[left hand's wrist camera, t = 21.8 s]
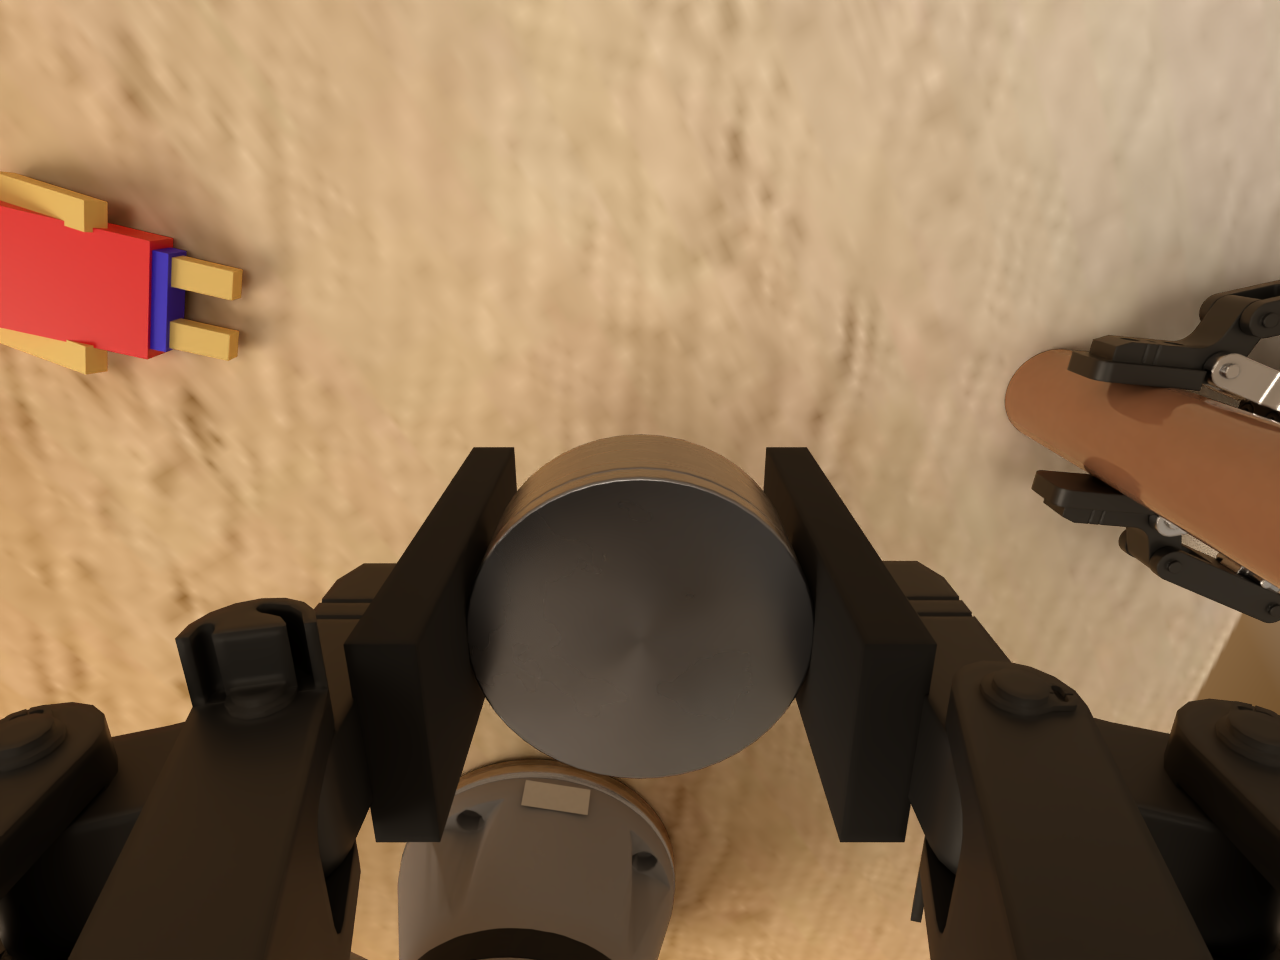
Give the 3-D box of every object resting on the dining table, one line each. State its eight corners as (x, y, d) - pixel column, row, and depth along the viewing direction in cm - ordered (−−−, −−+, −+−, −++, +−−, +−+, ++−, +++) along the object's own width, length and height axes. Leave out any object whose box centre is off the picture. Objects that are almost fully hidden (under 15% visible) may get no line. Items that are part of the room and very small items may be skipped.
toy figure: (226, 234, 29) (-121, 150, 27) (217, 402, 31) (-103, 335, 29) (253, 231, 31) (-66, 153, 29) (243, 387, 33) (-53, 323, 32)
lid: (844, 502, 11) (880, 557, 10) (712, 735, 13) (724, 818, 11) (552, 384, 11) (535, 420, 9) (451, 644, 12) (420, 717, 11)
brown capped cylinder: (989, 425, 34) (1390, 681, 16) (1028, 338, 32) (1516, 511, 14) (1071, 447, 34) (1553, 722, 16) (1113, 362, 33) (1692, 559, 15)
